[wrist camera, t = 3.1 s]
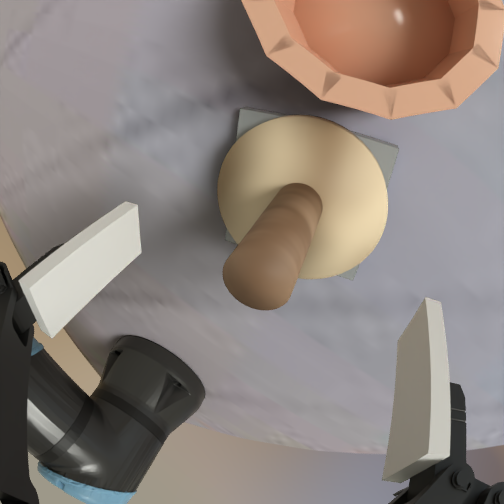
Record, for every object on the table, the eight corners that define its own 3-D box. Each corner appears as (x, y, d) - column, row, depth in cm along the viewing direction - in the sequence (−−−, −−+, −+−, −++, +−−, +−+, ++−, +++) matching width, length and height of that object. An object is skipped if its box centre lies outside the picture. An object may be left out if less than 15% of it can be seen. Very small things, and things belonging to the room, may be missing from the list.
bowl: (264, 80, 18) (229, 83, 13) (289, -75, 11) (261, -112, 6) (449, 132, 15) (476, 153, 11) (476, -29, 8) (505, -55, 4)
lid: (218, 243, 24) (152, 322, 17) (233, 99, 18) (141, 125, 11) (356, 287, 22) (339, 391, 15) (408, 144, 16) (441, 202, 9)
